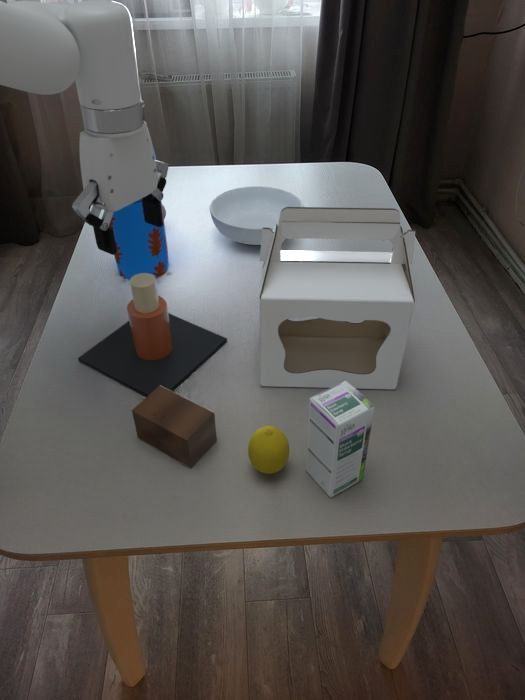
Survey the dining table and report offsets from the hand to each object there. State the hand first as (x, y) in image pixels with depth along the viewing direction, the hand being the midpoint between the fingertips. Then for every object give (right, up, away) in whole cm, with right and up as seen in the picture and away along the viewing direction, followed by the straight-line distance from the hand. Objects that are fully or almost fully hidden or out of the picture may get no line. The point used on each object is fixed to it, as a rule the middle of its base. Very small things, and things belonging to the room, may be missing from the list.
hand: (131, 237), depth 81 cm
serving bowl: (+18, +10, +46) cm, 50 cm away
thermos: (-6, +1, +35) cm, 36 cm away
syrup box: (+29, -34, -5) cm, 45 cm away
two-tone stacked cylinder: (+2, -14, +16) cm, 22 cm away
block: (+7, -30, 0) cm, 30 cm away
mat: (0, -17, +15) cm, 22 cm away
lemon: (+20, -33, -4) cm, 39 cm away
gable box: (+30, -19, +13) cm, 37 cm away
